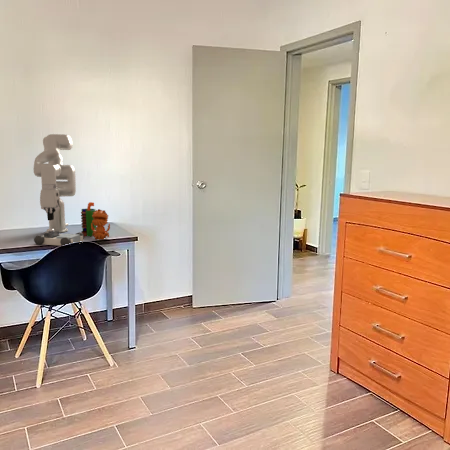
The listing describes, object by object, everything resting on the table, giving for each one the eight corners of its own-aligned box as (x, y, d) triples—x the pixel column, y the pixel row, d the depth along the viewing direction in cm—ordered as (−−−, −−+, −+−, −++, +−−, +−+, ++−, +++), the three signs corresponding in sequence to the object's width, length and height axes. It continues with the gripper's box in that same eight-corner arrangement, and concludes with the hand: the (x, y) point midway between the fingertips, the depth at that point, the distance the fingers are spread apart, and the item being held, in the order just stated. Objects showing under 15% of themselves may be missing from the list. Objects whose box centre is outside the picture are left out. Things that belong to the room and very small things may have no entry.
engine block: (51, 238, 255) (50, 227, 254) (59, 239, 254) (58, 228, 253) (43, 241, 248) (43, 230, 247) (52, 242, 247) (51, 230, 246)
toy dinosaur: (88, 240, 258) (87, 209, 255) (94, 236, 269) (93, 207, 266) (107, 240, 258) (106, 210, 254) (112, 237, 268) (111, 207, 265)
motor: (77, 234, 274) (76, 202, 270) (91, 232, 280) (90, 201, 277) (86, 237, 267) (85, 204, 263) (99, 235, 273) (98, 202, 270)
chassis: (50, 238, 260) (50, 230, 259) (85, 241, 256) (84, 232, 255) (33, 244, 245) (33, 235, 244) (69, 247, 240) (69, 238, 239)
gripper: (65, 187, 248) (66, 219, 251) (41, 186, 251) (42, 218, 254) (57, 188, 241) (58, 221, 244) (32, 187, 244) (34, 220, 247)
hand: (50, 219), depth 249 cm, fingers closed
